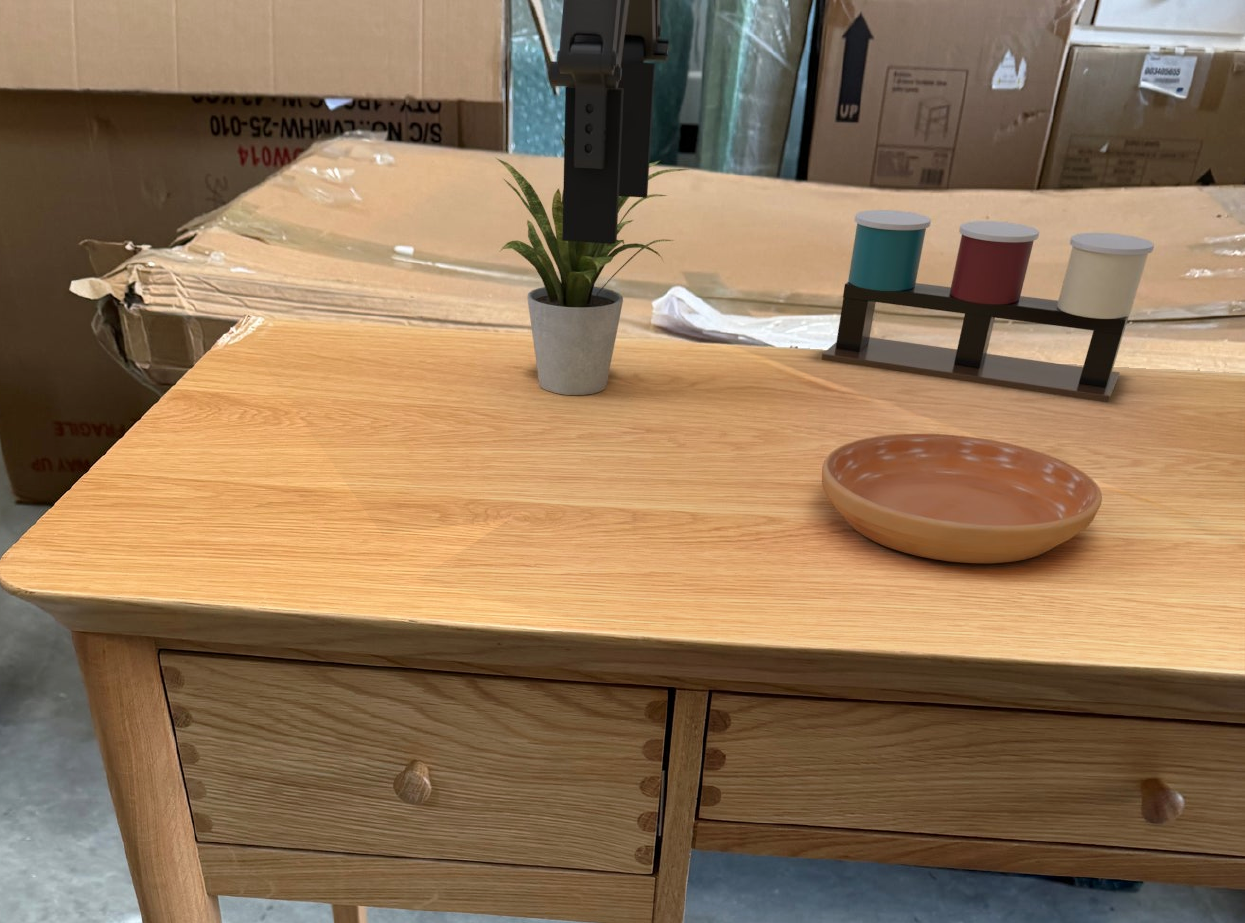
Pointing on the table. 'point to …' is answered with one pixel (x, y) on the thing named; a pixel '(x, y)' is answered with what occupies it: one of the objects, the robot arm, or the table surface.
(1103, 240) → the cup
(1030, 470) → the saucer
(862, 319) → the stand
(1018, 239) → the burgundy pod
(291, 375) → the table surface
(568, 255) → the house plant
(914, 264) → the teal pod
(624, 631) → the table surface
